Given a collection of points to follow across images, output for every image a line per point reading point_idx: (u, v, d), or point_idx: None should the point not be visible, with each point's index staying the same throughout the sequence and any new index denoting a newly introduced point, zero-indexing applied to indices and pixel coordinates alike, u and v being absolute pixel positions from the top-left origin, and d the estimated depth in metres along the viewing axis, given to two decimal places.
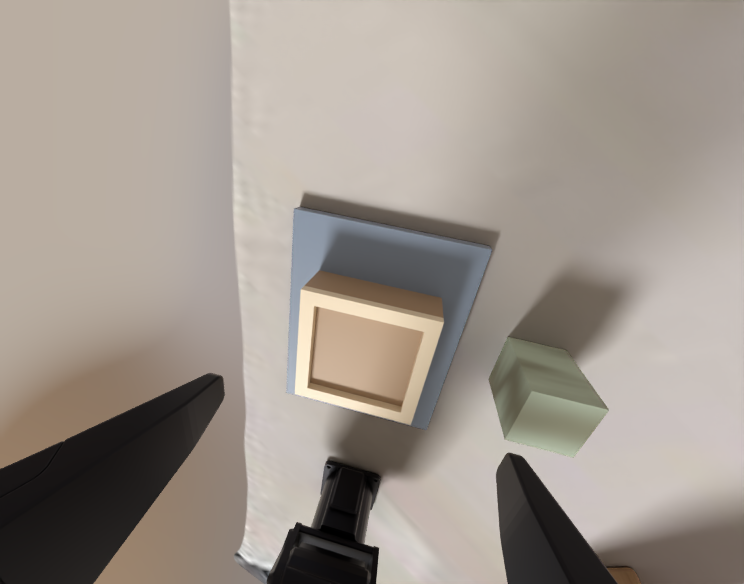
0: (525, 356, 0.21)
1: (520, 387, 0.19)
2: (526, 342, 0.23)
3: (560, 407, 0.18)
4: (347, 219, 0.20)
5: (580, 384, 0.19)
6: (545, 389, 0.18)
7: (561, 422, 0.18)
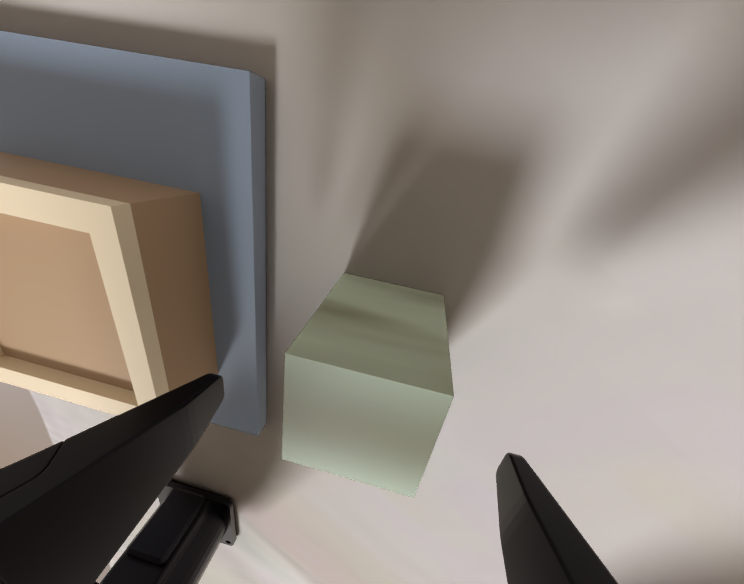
0: (345, 299, 0.11)
1: None
2: (373, 281, 0.13)
3: (354, 390, 0.08)
4: None
5: (424, 345, 0.09)
6: (326, 351, 0.08)
7: (367, 426, 0.08)
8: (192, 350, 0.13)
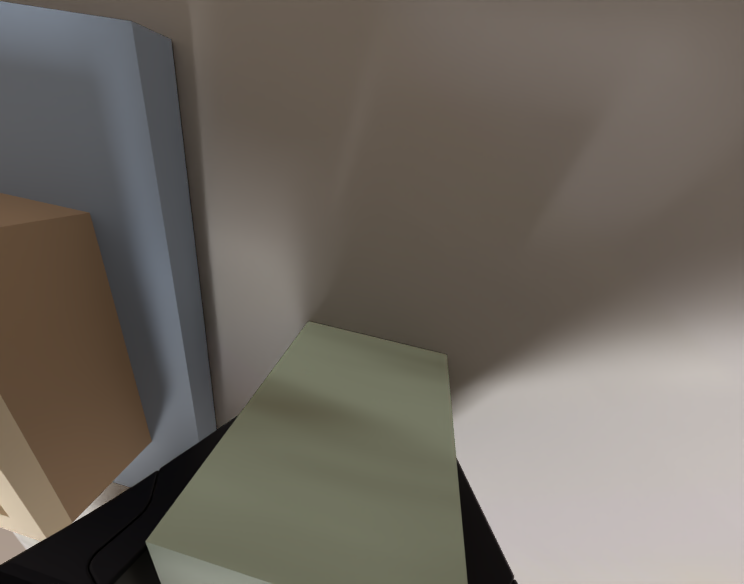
0: (298, 375, 0.07)
1: None
2: (347, 335, 0.09)
3: None
4: None
5: (416, 479, 0.05)
6: (233, 522, 0.04)
7: None
8: (99, 427, 0.10)
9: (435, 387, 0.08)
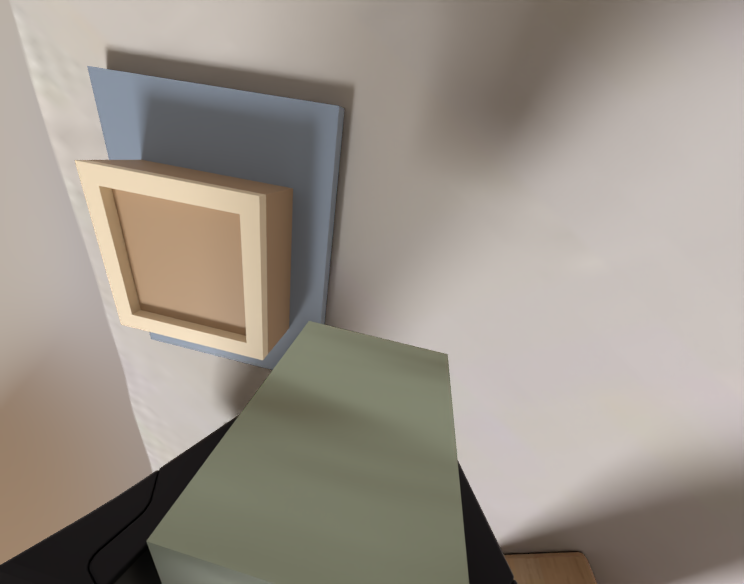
0: (298, 374, 0.07)
1: None
2: (347, 335, 0.09)
3: None
4: None
5: (417, 479, 0.05)
6: (234, 522, 0.04)
7: None
8: (279, 305, 0.18)
9: (436, 387, 0.08)
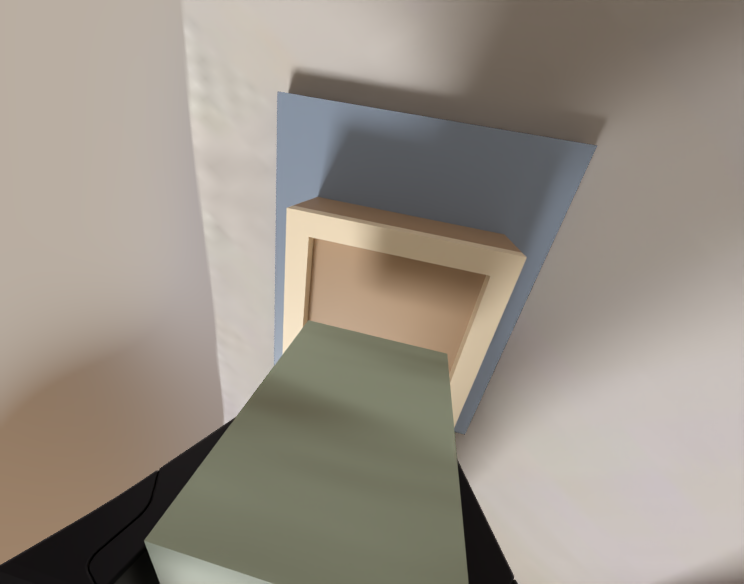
0: (298, 374, 0.07)
1: None
2: (347, 334, 0.09)
3: None
4: (361, 106, 0.13)
5: (417, 478, 0.05)
6: (232, 522, 0.04)
7: None
8: None
9: (435, 386, 0.08)
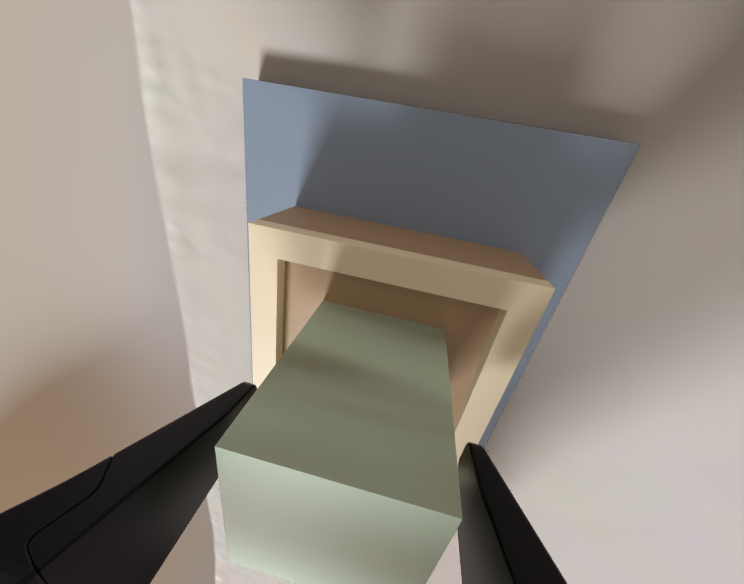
0: (318, 341, 0.08)
1: None
2: (357, 312, 0.10)
3: (317, 499, 0.05)
4: (345, 96, 0.11)
5: (419, 416, 0.07)
6: (278, 438, 0.06)
7: (338, 539, 0.06)
8: None
9: (435, 353, 0.09)
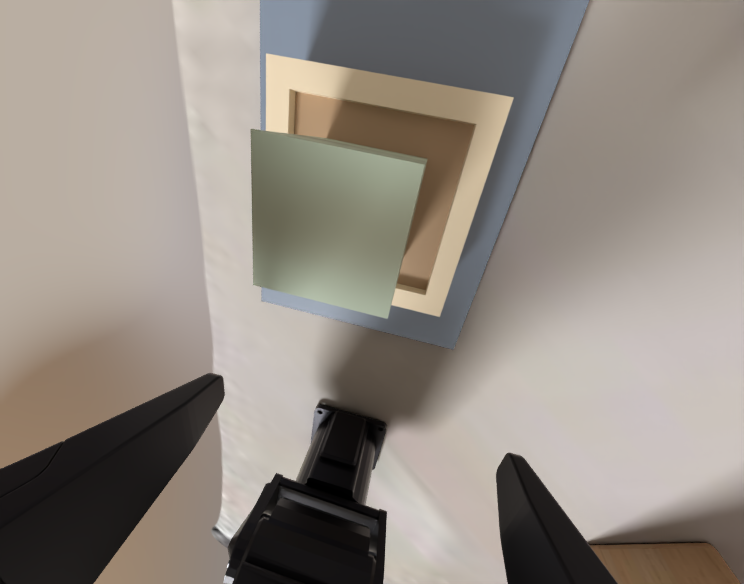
0: (323, 138, 0.10)
1: None
2: (355, 144, 0.12)
3: (323, 173, 0.07)
4: None
5: (400, 156, 0.09)
6: (295, 137, 0.08)
7: (338, 222, 0.08)
8: None
9: (417, 157, 0.11)
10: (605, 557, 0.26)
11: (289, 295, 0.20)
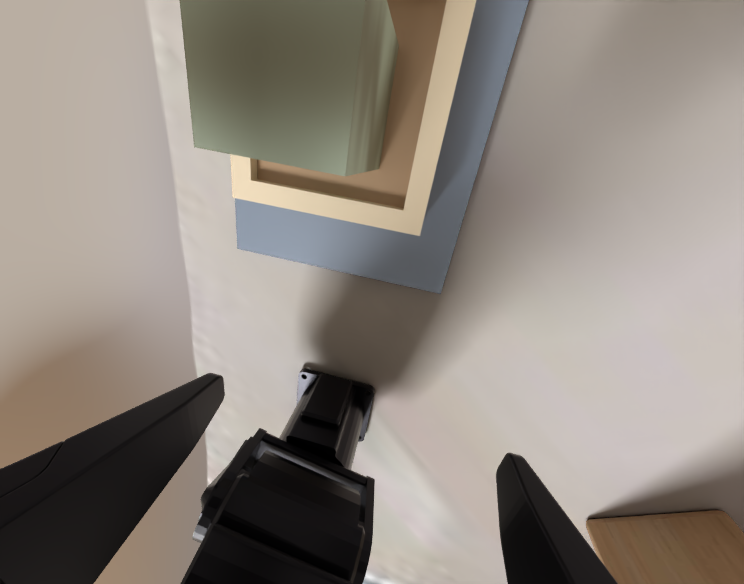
0: None
1: None
2: None
3: None
4: None
5: None
6: None
7: (279, 44, 0.07)
8: None
9: None
10: (611, 530, 0.24)
11: (266, 240, 0.19)
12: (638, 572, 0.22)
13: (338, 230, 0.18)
